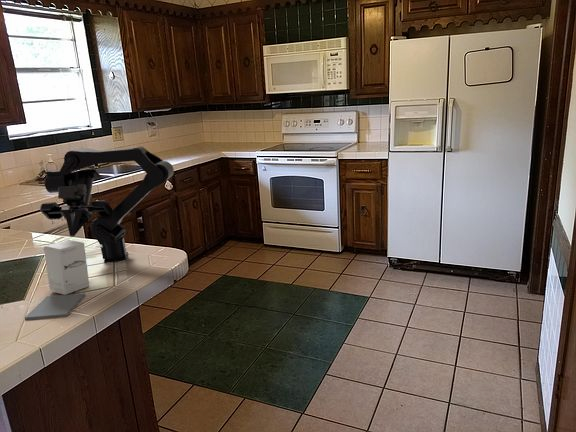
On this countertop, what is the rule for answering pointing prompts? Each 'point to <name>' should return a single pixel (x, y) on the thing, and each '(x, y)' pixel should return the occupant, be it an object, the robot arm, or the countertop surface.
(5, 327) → the countertop surface
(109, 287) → the countertop surface
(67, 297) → the rubber mat
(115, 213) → the robot arm
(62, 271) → the supplement box
